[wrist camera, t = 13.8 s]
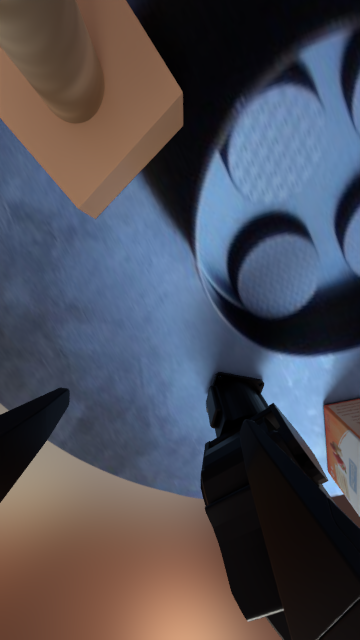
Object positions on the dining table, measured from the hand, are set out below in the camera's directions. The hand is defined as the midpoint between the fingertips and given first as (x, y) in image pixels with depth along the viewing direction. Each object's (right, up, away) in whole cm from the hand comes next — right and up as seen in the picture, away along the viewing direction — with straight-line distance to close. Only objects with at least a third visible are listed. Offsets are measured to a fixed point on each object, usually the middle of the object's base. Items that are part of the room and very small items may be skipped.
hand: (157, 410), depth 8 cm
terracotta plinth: (-7, +23, +7) cm, 25 cm away
